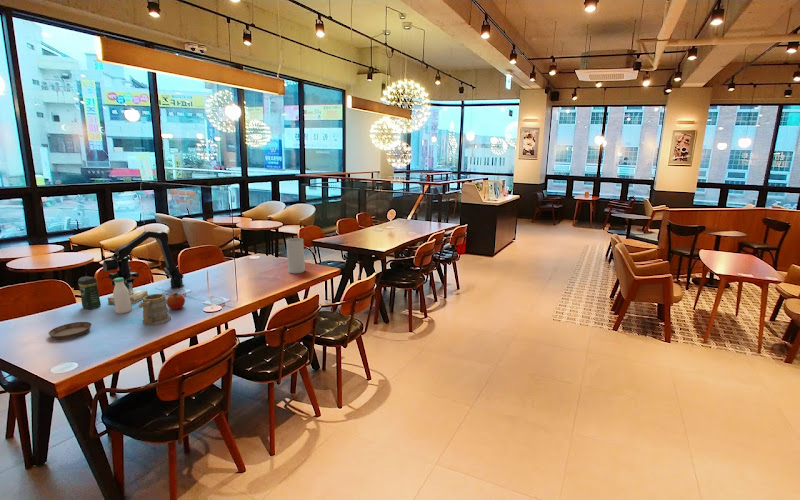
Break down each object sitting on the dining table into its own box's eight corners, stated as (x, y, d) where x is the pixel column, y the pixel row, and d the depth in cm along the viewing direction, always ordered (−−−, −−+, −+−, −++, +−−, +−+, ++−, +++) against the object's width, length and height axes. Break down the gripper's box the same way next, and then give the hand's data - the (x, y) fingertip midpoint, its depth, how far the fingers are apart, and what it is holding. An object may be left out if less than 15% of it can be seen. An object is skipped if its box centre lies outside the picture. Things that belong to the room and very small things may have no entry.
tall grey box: (133, 294, 269) (131, 281, 268) (130, 295, 267) (128, 283, 265) (125, 294, 269) (123, 281, 268) (122, 295, 267) (120, 283, 265)
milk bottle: (134, 310, 250) (129, 277, 246) (122, 314, 243) (117, 280, 239) (125, 308, 253) (119, 275, 248) (112, 313, 246) (107, 279, 241)
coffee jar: (103, 306, 257) (98, 276, 253) (89, 310, 250) (83, 279, 246) (94, 303, 262) (89, 274, 257) (80, 307, 255) (74, 277, 251)
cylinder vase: (302, 273, 323) (301, 241, 318) (286, 273, 323) (284, 241, 318) (306, 269, 335) (304, 238, 330) (290, 269, 336) (288, 238, 330)
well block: (147, 295, 275) (147, 290, 275) (134, 303, 262) (134, 297, 261) (123, 295, 275) (122, 290, 275) (108, 303, 262) (107, 297, 261)
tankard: (152, 316, 241) (149, 291, 237) (174, 316, 240) (171, 291, 237) (129, 331, 221) (125, 303, 218) (153, 331, 221) (149, 303, 217)
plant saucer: (44, 343, 207) (42, 338, 207) (55, 330, 223) (54, 324, 222) (87, 337, 214) (86, 331, 213) (96, 324, 230) (95, 319, 229)
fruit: (182, 304, 260) (180, 288, 257) (188, 308, 253) (186, 292, 251) (165, 308, 253) (163, 292, 251) (170, 312, 247) (168, 295, 244)
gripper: (120, 263, 273) (124, 287, 277) (100, 272, 255) (104, 296, 258) (137, 263, 273) (141, 287, 277) (119, 271, 255) (123, 296, 258)
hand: (127, 291), depth 268 cm, fingers closed on tall grey box, 3 cm apart
